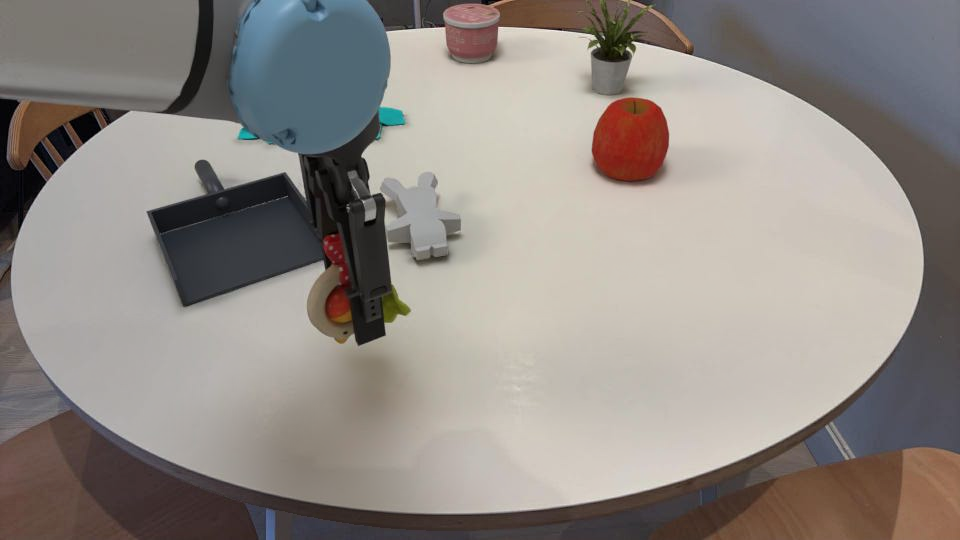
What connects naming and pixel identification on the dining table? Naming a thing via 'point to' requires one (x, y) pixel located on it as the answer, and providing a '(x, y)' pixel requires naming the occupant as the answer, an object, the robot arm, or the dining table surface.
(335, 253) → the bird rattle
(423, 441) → the dining table surface
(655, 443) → the dining table surface
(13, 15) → the robot arm
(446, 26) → the container
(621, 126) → the apple
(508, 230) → the dining table surface
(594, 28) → the house plant
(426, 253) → the bunny figurine
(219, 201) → the scoop
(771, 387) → the dining table surface
